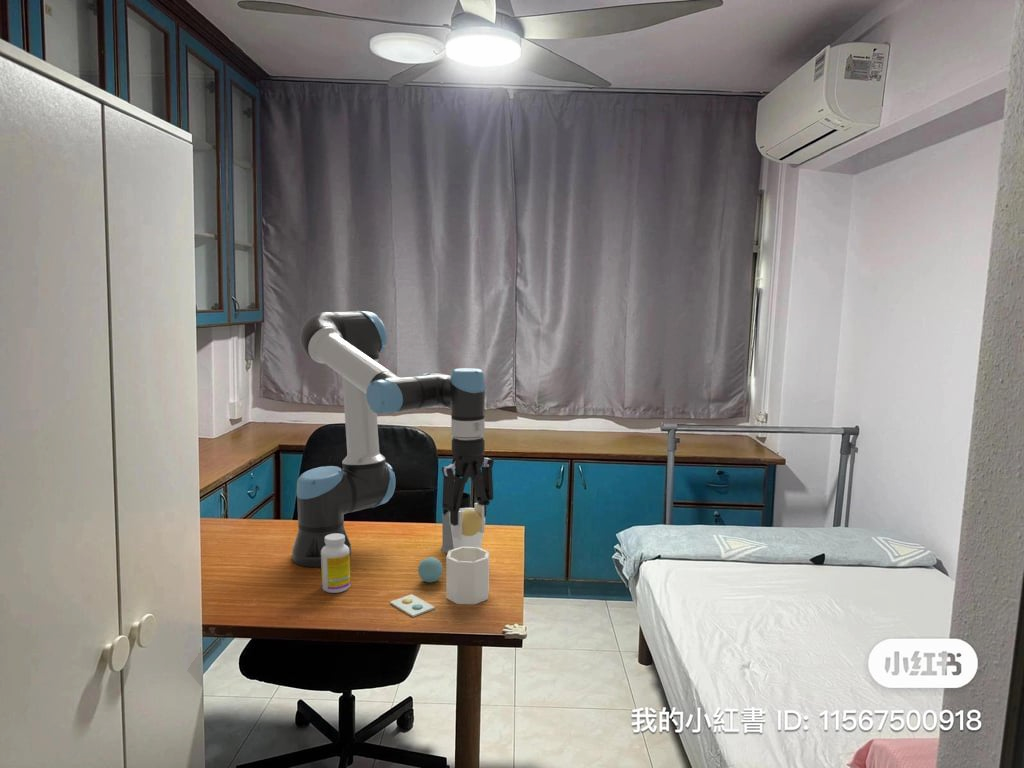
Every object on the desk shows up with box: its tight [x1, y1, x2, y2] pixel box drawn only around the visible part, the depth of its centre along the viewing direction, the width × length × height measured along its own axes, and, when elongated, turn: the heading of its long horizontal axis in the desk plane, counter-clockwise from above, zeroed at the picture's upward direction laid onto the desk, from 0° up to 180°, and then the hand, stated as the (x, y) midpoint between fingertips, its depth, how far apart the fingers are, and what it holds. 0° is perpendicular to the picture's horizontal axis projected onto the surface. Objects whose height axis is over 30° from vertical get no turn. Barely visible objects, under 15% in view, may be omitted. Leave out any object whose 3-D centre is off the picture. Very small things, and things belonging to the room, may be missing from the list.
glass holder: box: [440, 491, 471, 554], centre depth 197 cm, size 9×14×15 cm, turn 7°
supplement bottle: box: [320, 533, 351, 594], centre depth 169 cm, size 7×7×13 cm
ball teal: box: [417, 556, 444, 583], centre depth 174 cm, size 6×6×6 cm
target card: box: [389, 593, 436, 618], centre depth 161 cm, size 9×6×1 cm, turn 43°
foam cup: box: [450, 507, 486, 549], centre depth 186 cm, size 10×9×13 cm
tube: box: [445, 547, 490, 605], centre depth 166 cm, size 10×10×10 cm
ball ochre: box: [462, 510, 482, 536], centre depth 164 cm, size 6×6×6 cm
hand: (468, 534), depth 165 cm, fingers closed on ball ochre, 6 cm apart
